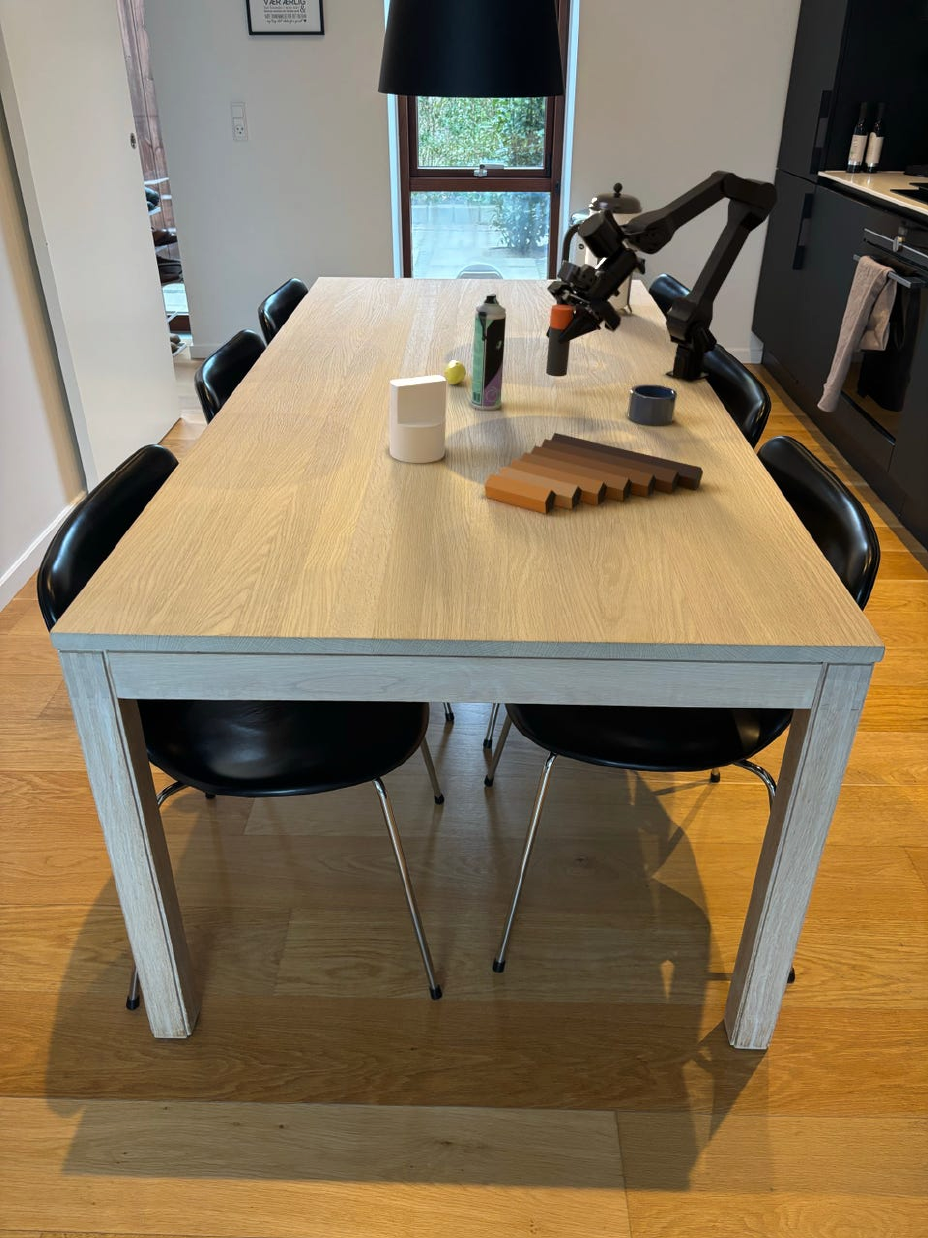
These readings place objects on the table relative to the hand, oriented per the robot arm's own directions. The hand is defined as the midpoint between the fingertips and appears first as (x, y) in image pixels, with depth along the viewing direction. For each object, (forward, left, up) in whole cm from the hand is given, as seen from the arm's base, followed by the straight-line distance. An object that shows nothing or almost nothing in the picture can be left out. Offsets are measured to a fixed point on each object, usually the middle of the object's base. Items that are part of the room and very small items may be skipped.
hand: (553, 339), depth 182 cm
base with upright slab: (+41, +6, -10) cm, 43 cm away
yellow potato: (+9, -17, -10) cm, 22 cm away
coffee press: (-61, -34, -10) cm, 71 cm away
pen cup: (-3, +21, -10) cm, 24 cm away
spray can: (+15, -3, -10) cm, 19 cm away
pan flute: (+31, +35, -10) cm, 48 cm away
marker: (-1, 0, -7) cm, 7 cm away
